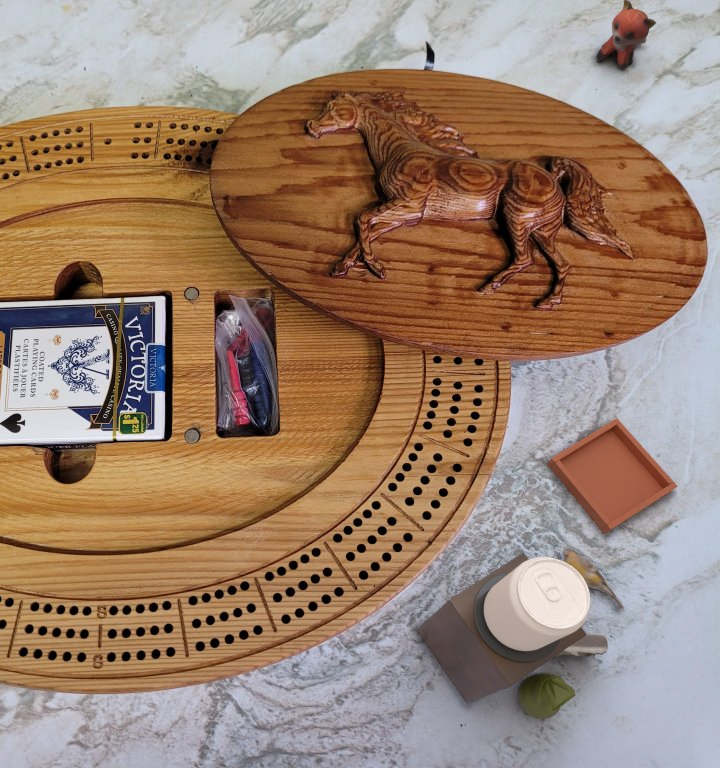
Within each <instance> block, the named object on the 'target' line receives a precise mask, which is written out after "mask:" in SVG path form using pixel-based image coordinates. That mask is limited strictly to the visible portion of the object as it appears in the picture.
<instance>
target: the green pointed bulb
mask: <svg viewBox="0 0 720 768" xmlns="http://www.w3.org/2000/svg"><path fill="white" fill-rule="evenodd" d="M575 697H576V691H575V689H574V687H572V686H570V685H569V684H568V683H567V682H566V681H565V679H563V678H562V677H561V676H559V675H556V674H551V673H550V672H549V673H548V672H537V673H534V674H531V675H529V676H526V678H523V680H522V681H521V682H520V684H519V686H518V688H517V700H518V703H519V704H520V706H521V708H522V709H523V711H524V712H525V713H527V714H528V715H529V716H531V717H533V718H535V719H538V720H546V719H550V718H552V717H555V715H556V714H558V712H559V711H560V710H561V708H562V706H564V705H565V704H567V703H568V702H569V701H571V700H572V699H573V698H575Z"/></svg>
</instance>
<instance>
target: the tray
mask: <svg viewBox="0 0 720 768" xmlns="http://www.w3.org/2000/svg"><path fill="white" fill-rule="evenodd" d="M546 465H547V466H548V468H549V469H550V470H551V471H552V472H553V474H554V475H555V476H556V477H557V478H558V480H559V481H560V482H561V483H562V484H563V485H564V487H565V488H566V489H567V490H568V491H569V493H570V494H571V495H572V497H574V499H575V500H576V501H577V503H578V504H579V505H580V507H582V509H583V510H584V511H585V512H586V513H587V515H588V516H589V517H590V518H591V520H592V521H593V522H594V523H595V525H597V527H598V529H600V530H601V532H602V533H603V534H604V535H605V534H607V533H609V532H611V531H612V530H613V529H615V528H616V527H618V526H620V525H621V524H623V523H624V522H625V521H627V520H629V519H631V518H632V517H634V516H635V515H637V514H638V513H639V512H641V511H643V510H644V509H646V508H648V507H649V506H650V505H652V504H654V503H655V502H657V501H658V500H659V499H661V498H663V497H664V496H666V495H667V494H669V493H671V492H673V490H675V489H676V488H678V485H677V483H676V482H675V481H674V479H672V478H671V477H670V476H669V474H668V473H666V471H665V470H664V469H663V468H662V466H660V464H659V463H658V462H657V461H656V460H655V459H654V458H653V457H652V455H651V454H650V453H649V452H648V451H647V450H646V449H645V448H644V446H643V445H642V444H641V443H640V442H639V441H638V440H637V439H636V437H635V436H634V435H633V434H632V433H631V432H630V431H629V429H627V428H626V426H625V425H624V424H623V423H622V422H621V421H620V420H619V419H618V417H617V418H614V419H612V420H611V421H610V422H608V423H607V424H605V425H603V426H602V427H600V428H598V429H597V430H595V431H593V432H592V433H590V434H589V435H587V436H585V437H584V438H582V439H580V440H579V441H577V442H575V443H573V444H572V445H571V446H569V447H567V448H566V449H564V450H563V451H561V452H559V453H558V454H556V455H554V456H553V457H551V458H550V459H549V461H548V462H547V463H546Z"/></svg>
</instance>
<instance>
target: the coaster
mask: <svg viewBox="0 0 720 768" xmlns="http://www.w3.org/2000/svg"><path fill="white" fill-rule="evenodd" d="M508 574H509V573H504V574H500V575H497V576H495V577H493V578H491V579H489V580H488V581H487V582H486V583H485V584H484V585H483V586H482V587H481V588H480V590H479V591H478V593H477V595H476V598H475V601H474V606H473V616H474V622H475V625H476V628H477V630H478V633H479V635H480V636H481V638H482V639H483V641H484V642H485V643H486V644H487V646H488V647H490V648H491V649H492V650H493V651H494V652H495V653H497V654H498V655H500V656H502V657H504V658H506V659H509V660H512V661H516V662H533V661H537V660H540V659H542V658H544V657H546V656H548V655H549V654H550V653H552V652H553V651H554V650H555V648H556V647H557V646H558V644H559V642H560V640H561V639H558V640H556V641H554V642H552V643H550V644H548V645H546V646H544V647H541V648H539V649H536V650H533V651H519V650H515V649H512V648H510V647H508V646H506V645H504V644H503V643H501V642H500V641H499V640H498V639H497V638H496V637H495V636H494V635H493V634H492V632H491V631H490V629H489V628H488V626H487V623H486V620H485V616H484V602H485V598H486V596H487V594H488V592H489V591H490V589H491V588H492V587H493V586H494V585H495V584H497V583H498V582H499V581H500V580H502V579H503V578H504V577H505V576H507V575H508Z"/></svg>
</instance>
